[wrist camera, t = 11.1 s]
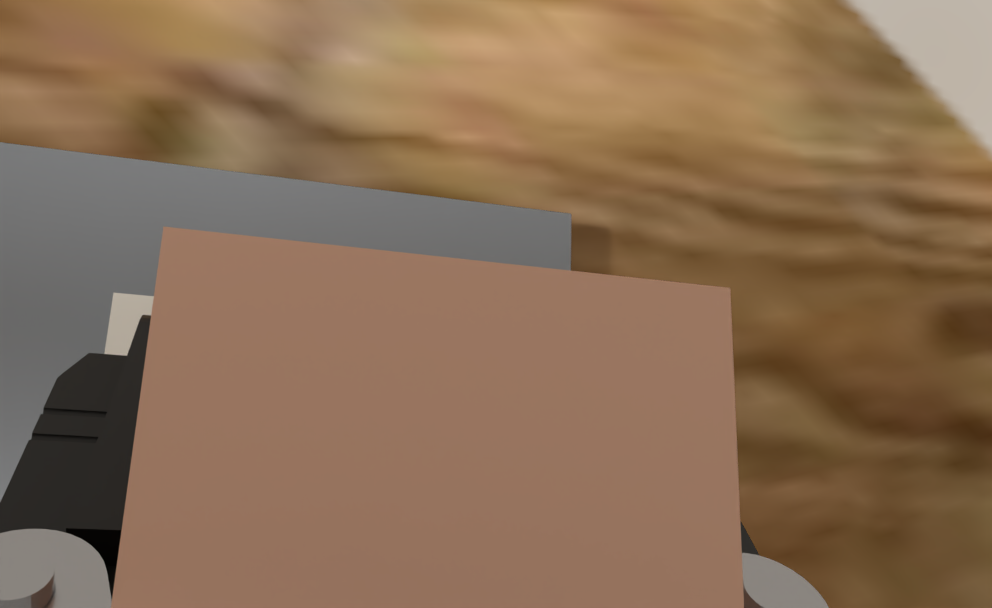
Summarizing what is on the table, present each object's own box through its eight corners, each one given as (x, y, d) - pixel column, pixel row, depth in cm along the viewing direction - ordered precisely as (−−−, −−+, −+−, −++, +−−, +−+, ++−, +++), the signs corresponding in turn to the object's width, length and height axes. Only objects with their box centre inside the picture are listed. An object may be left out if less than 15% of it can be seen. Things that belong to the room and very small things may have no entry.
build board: (-714, 1045, 12) (-930, 1157, 10) (-408, 117, 16) (-516, 47, 14) (543, 952, 17) (588, 1015, 14) (553, 232, 20) (591, 192, 18)
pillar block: (177, 715, 13) (63, 946, 5) (214, 400, 14) (163, 226, 7) (486, 711, 14) (755, 902, 6) (496, 419, 15) (730, 288, 8)
